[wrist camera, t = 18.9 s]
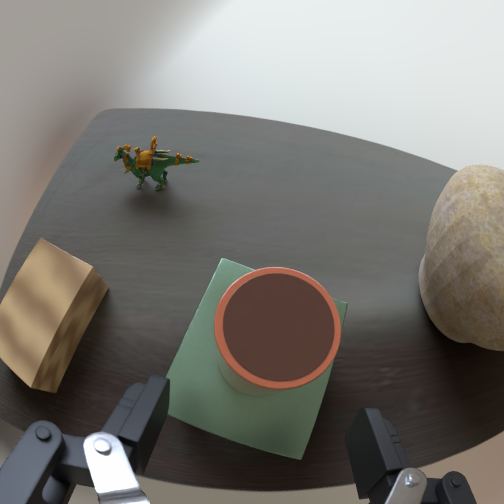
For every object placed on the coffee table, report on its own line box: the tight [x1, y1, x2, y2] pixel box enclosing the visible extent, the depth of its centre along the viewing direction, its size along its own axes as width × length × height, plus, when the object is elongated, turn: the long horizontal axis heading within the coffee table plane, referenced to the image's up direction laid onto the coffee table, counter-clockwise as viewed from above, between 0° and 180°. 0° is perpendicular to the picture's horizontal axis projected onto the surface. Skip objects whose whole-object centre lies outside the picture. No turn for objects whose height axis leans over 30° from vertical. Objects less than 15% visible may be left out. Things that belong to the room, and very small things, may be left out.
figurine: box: [114, 136, 199, 190], centre depth 34 cm, size 3×12×8 cm, turn 86°
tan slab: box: [0, 238, 109, 393], centre depth 24 cm, size 14×9×5 cm, turn 160°
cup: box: [214, 267, 341, 397], centre depth 16 cm, size 6×6×8 cm
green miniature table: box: [166, 258, 348, 460], centre depth 23 cm, size 13×11×8 cm
